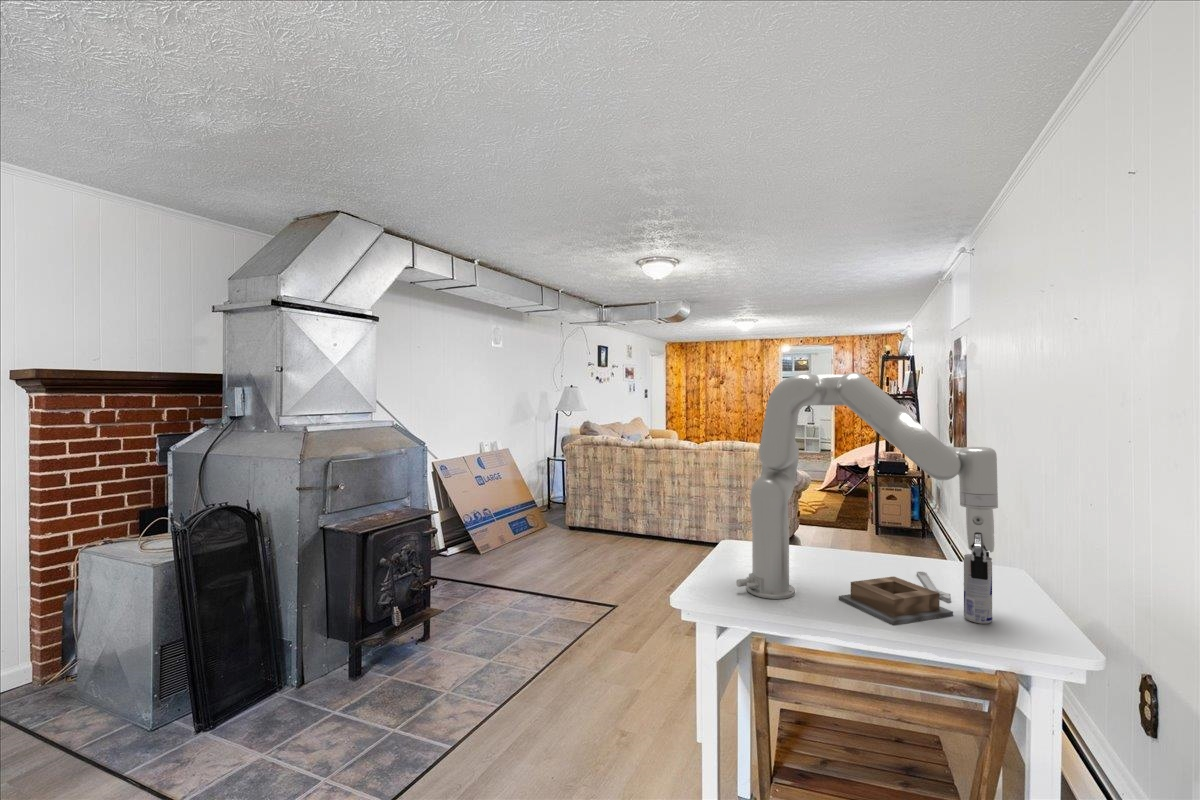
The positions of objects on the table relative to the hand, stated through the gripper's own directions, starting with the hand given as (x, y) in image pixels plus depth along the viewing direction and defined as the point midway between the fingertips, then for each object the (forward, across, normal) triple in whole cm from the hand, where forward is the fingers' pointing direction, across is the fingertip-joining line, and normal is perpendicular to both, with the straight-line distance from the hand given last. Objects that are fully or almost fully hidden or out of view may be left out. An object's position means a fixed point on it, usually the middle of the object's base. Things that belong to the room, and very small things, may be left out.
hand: (980, 573), depth 138 cm
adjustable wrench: (+12, +20, +12) cm, 26 cm away
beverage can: (+11, 0, +1) cm, 11 cm away
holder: (+11, -2, +18) cm, 21 cm away
